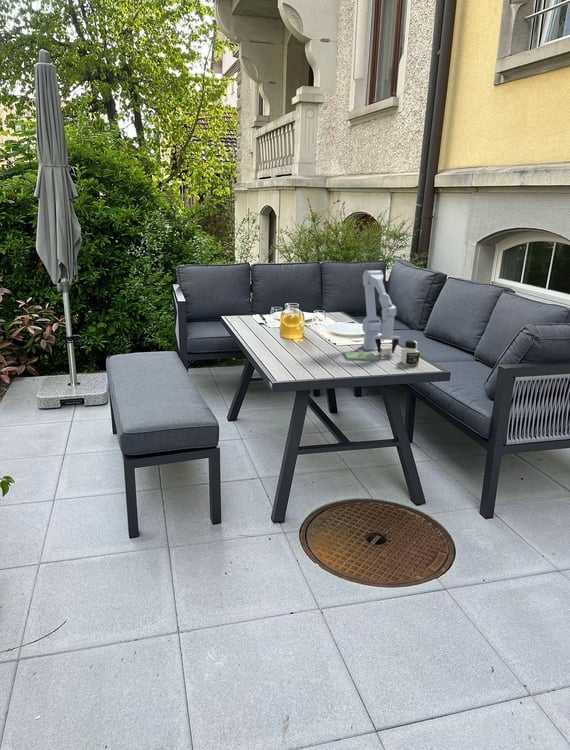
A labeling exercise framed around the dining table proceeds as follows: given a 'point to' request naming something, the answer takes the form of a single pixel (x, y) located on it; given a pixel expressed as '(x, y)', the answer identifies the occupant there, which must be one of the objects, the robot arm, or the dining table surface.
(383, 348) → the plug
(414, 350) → the medicine bottle
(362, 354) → the header board
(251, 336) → the dining table surface
